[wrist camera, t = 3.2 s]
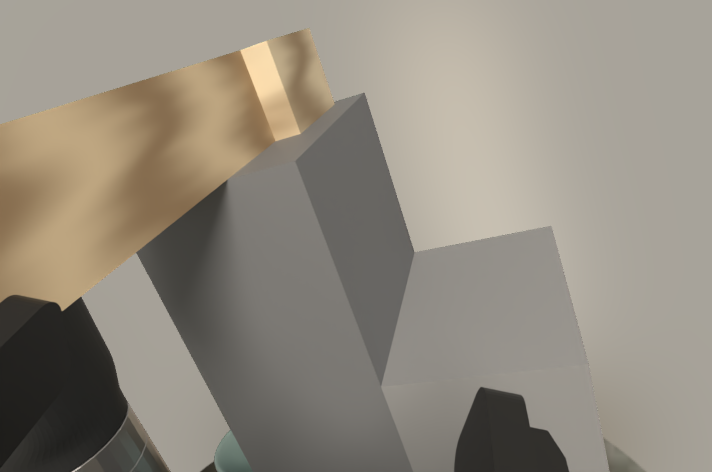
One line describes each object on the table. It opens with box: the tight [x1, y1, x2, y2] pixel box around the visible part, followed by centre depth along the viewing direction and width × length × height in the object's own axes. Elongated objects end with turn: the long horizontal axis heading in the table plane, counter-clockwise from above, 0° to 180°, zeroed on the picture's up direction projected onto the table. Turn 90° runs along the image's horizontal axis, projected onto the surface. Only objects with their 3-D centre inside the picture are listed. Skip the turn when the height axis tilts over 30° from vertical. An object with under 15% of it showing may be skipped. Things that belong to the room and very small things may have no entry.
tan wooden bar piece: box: [0, 28, 335, 311], centre depth 19 cm, size 21×5×4 cm, turn 168°
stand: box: [136, 93, 609, 472], centre depth 29 cm, size 12×16×34 cm
